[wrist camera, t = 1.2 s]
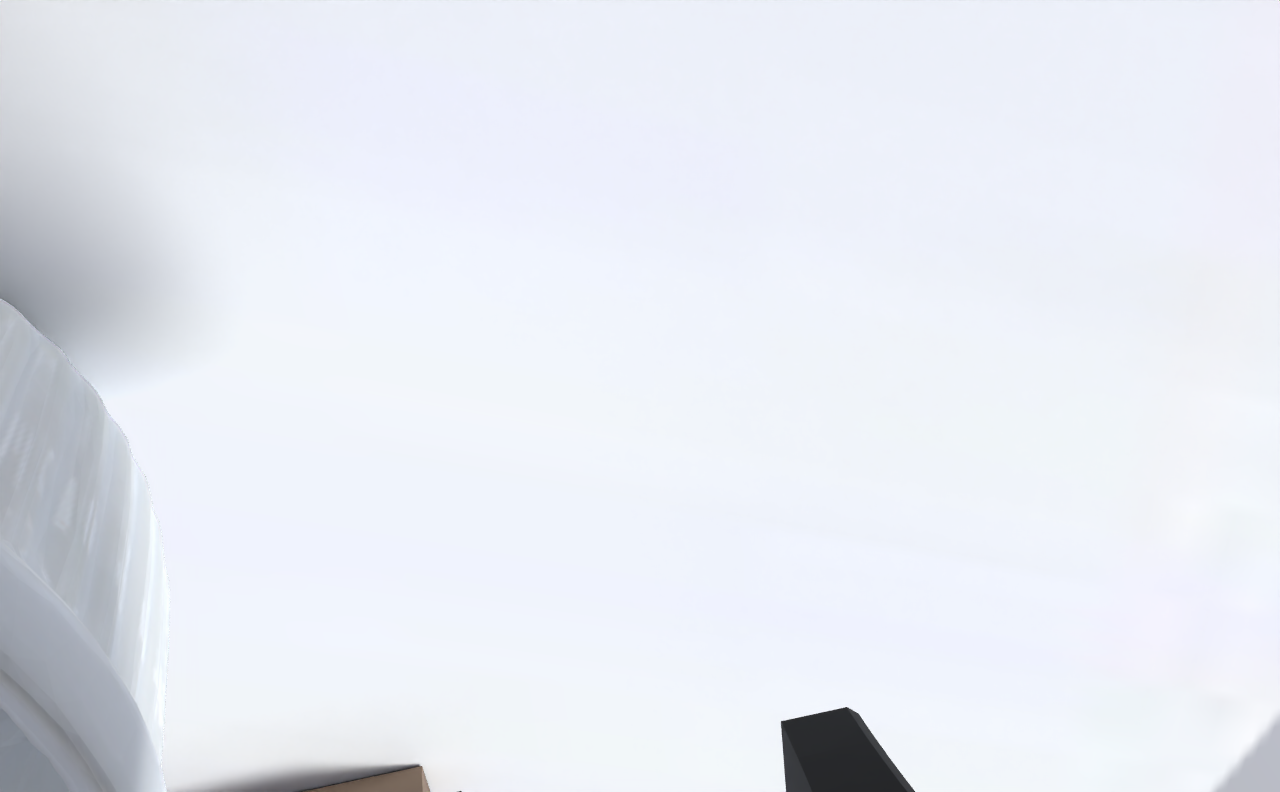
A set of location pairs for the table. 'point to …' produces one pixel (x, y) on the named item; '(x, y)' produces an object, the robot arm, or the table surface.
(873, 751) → the robot arm
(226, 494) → the table surface
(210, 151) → the table surface
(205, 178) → the table surface
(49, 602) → the ramekin
